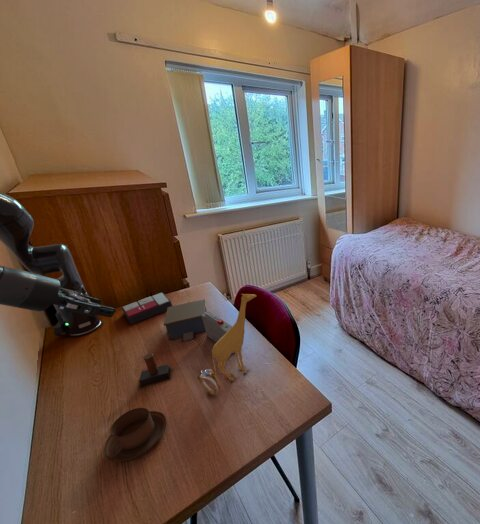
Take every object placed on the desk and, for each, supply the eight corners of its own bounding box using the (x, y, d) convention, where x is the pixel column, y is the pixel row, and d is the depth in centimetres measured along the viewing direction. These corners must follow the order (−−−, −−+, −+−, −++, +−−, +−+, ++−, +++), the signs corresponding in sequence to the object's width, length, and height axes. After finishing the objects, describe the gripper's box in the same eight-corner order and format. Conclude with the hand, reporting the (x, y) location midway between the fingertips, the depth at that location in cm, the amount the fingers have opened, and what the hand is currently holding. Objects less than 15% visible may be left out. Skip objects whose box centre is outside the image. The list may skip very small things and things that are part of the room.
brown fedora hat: (156, 459, 63) (148, 441, 61) (95, 472, 61) (83, 453, 58) (175, 412, 74) (168, 395, 71) (123, 421, 72) (114, 404, 69)
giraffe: (262, 352, 94) (250, 285, 84) (270, 358, 91) (259, 290, 81) (214, 383, 82) (193, 310, 72) (222, 391, 80) (201, 316, 69)
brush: (169, 379, 84) (161, 356, 81) (141, 387, 81) (131, 364, 78) (171, 369, 87) (163, 348, 84) (144, 377, 85) (134, 355, 81)
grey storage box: (167, 341, 100) (161, 324, 97) (170, 322, 110) (165, 307, 107) (209, 330, 105) (204, 314, 102) (208, 314, 115) (204, 299, 112)
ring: (199, 392, 80) (192, 370, 76) (209, 384, 82) (202, 362, 79) (215, 402, 76) (208, 380, 73) (225, 393, 79) (219, 372, 76)
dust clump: (183, 333, 102) (184, 336, 102) (183, 338, 99) (183, 341, 100) (192, 331, 103) (193, 333, 103) (192, 336, 100) (193, 338, 101)
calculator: (120, 306, 114) (162, 290, 124) (125, 315, 116) (165, 299, 125) (126, 317, 107) (170, 299, 117) (131, 326, 109) (173, 308, 118)
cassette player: (239, 349, 95) (233, 324, 91) (231, 354, 93) (225, 329, 89) (214, 332, 104) (208, 309, 100) (207, 336, 102) (200, 312, 98)
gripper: (44, 281, 58) (127, 302, 71) (23, 266, 65) (102, 288, 78) (20, 316, 56) (110, 331, 70) (1, 296, 63) (86, 313, 76)
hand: (105, 308), depth 74 cm, fingers open, 8 cm apart
